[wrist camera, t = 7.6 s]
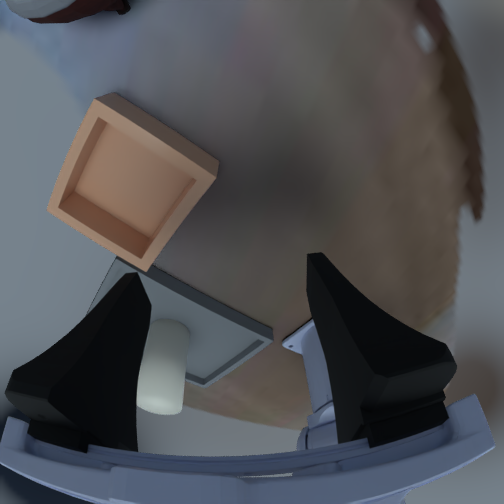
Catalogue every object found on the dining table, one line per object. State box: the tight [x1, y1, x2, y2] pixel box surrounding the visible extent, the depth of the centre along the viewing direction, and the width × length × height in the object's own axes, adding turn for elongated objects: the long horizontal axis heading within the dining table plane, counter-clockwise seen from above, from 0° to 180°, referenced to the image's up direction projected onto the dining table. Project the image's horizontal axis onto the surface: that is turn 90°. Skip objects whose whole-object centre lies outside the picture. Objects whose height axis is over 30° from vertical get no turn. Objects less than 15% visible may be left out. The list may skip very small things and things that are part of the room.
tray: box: [86, 255, 274, 388], centre depth 27 cm, size 16×12×2 cm
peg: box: [137, 319, 190, 415], centre depth 24 cm, size 4×4×8 cm
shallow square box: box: [47, 93, 219, 272], centre depth 18 cm, size 9×9×3 cm
